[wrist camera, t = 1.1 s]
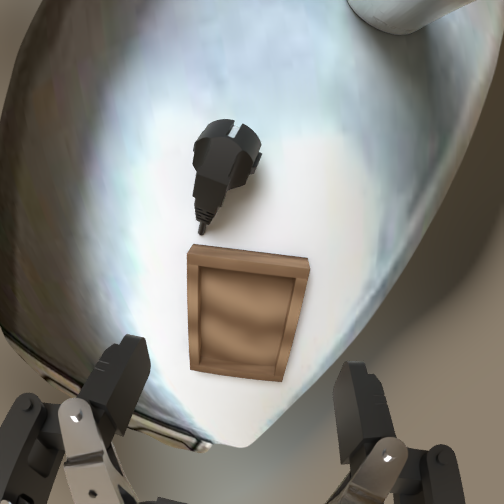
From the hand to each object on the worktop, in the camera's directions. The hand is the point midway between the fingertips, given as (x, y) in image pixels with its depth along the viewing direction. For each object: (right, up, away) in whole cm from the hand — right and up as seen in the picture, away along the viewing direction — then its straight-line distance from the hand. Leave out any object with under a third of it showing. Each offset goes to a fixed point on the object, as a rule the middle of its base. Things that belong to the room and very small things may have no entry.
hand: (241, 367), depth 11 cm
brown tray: (-1, -3, +24) cm, 24 cm away
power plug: (-3, +12, +17) cm, 21 cm away
